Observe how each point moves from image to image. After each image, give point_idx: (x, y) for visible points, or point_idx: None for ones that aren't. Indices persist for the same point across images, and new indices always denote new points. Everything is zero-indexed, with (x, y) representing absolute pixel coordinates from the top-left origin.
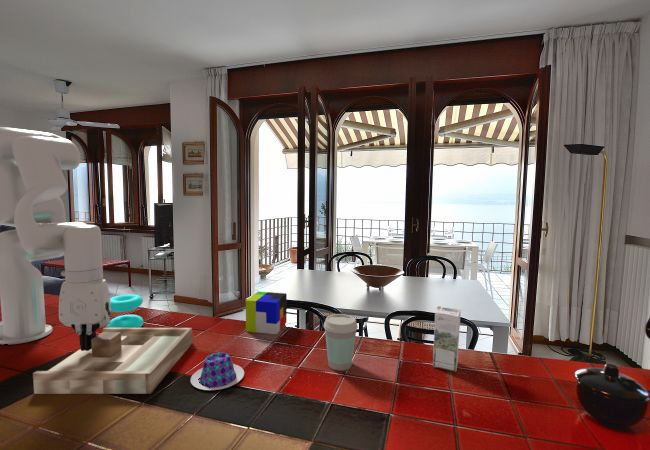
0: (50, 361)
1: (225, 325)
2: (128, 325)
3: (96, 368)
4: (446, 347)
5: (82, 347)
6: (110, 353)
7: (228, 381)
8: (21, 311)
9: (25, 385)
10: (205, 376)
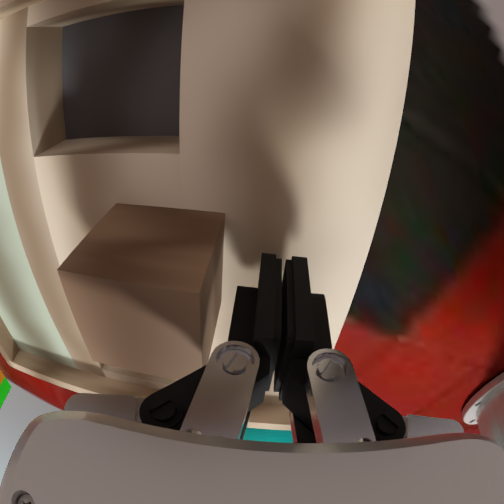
0: (450, 275)
1: (42, 388)
2: (257, 437)
3: (177, 143)
4: None
5: (295, 269)
6: (106, 215)
7: None
8: None
9: (467, 80)
10: None
